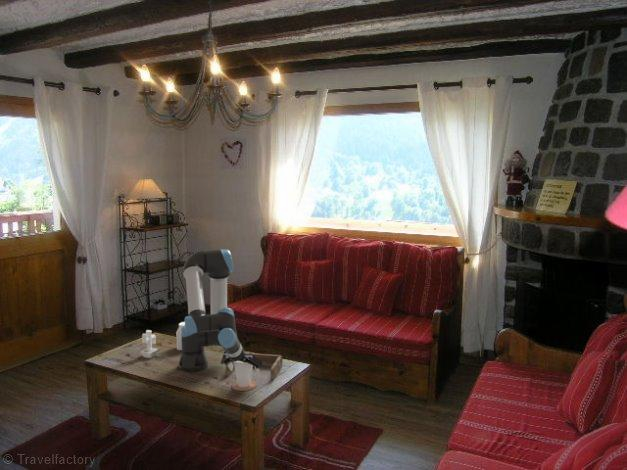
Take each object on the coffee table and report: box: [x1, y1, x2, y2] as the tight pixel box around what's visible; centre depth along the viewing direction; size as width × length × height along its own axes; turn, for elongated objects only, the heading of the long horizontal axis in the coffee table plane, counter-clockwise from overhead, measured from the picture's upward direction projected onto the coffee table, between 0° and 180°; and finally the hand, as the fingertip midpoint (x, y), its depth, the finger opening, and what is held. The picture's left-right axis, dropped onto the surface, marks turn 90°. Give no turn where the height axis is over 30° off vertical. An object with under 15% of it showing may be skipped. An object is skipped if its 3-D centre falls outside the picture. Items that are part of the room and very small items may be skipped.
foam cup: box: [234, 359, 254, 387], centre depth 245 cm, size 10×9×13 cm
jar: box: [175, 321, 185, 351], centre depth 295 cm, size 12×10×15 cm
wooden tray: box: [225, 352, 283, 381], centre depth 263 cm, size 18×25×6 cm
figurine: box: [140, 329, 160, 359], centre depth 282 cm, size 7×9×15 cm
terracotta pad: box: [231, 379, 257, 392], centre depth 246 cm, size 12×12×1 cm
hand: (245, 369), depth 247 cm, fingers open, 13 cm apart
